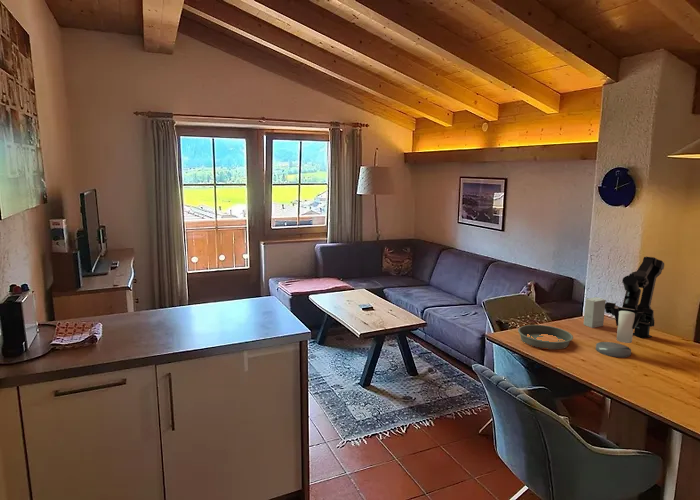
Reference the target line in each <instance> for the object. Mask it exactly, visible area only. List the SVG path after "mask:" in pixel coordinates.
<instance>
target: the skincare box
mask: <svg viewBox="0 0 700 500" xmlns="http://www.w3.org/2000/svg"><path fill="white" fill-rule="evenodd" d="M605 303H607V300H606V299H605V298H604V299H603V298H601V297H599V296H596V297H590V298H585V303H584V304H585V305H584V315H583V326H586V327H589V328H592V329H594V328H598V327H599V328H600V327H603V326H604V320H605V313H606V312H605Z"/></svg>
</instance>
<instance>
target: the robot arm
mask: <svg viewBox="0 0 700 500" xmlns="http://www.w3.org/2000/svg"><path fill="white" fill-rule="evenodd" d="M664 269H665V261H663V260H661V259H658V258H656V257H654V256H643V258H642V262H641V264H640V265H639V267H638V268H637V270H636V271H632V272H631V273H629V274H628V275H625V276H624V277H623V278H622V284H623V288H624V290H625V294H624V298H623V302H622V306H618V305H616V304H617V303H614V302H609V301H606V303H605V312H604V313H607V314H611V316H614V319H615V326H616V327H618V319H619V311H630V312H633V313H635V318H634V324H633V336H635V337H638V338H642V339H646V338H652V335H650V331H651V329H650V328H652V327H655V324H656V323H655V317H654V316H655V315H654V310H653V308H652V306H651V305H652V304H651V303H652V300H653V296H654V290H655V285H656V281H657V278H658V277H659V276H660V275H661V274H662V273H663V270H664ZM641 289H642V290H641ZM639 301H640V302H639Z"/></svg>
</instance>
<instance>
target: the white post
mask: <svg viewBox="0 0 700 500" xmlns="http://www.w3.org/2000/svg"><path fill="white" fill-rule="evenodd" d="M634 318H635V313H633V312H630V311H619V319H618V326H617V329H616V330H617V331H616V341H618V342H619V343H624V344H631V343H633V336H634V335H633V333H634V329H633V324H634Z"/></svg>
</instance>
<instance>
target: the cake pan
mask: <svg viewBox="0 0 700 500" xmlns="http://www.w3.org/2000/svg"><path fill="white" fill-rule="evenodd" d="M517 331H518V333H519V335H520V339H521V341H522V342H523V343H524V342H525V343H524V344H526V343H527V344H526V345H528V344H529V345H528V346H531V345H532V346H531V347H534V346H535V347H534V348H538V347H540V348H539V349H543V348H548V349H547V350H562V349H566V348H567V347H568V346H569V345H570V342H572V341H573V339H574V336H573V335H572V334H571V332H569V331H567V330H565V329H562V328H559V327H555V326H550V325H544V324H527V325H523V326H520V327H518V329H517ZM527 334H529V335H530V337H527ZM541 334H548V335H553V336H556V337H557V338H558V339H563V340H565V341H563V340H562V341H559V340H558V341H557V342H549V341H542V340H537V339H536V338H537V337H543V336H539V335H541ZM531 336H532V337H533V338H534V339H533V338H531Z"/></svg>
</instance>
